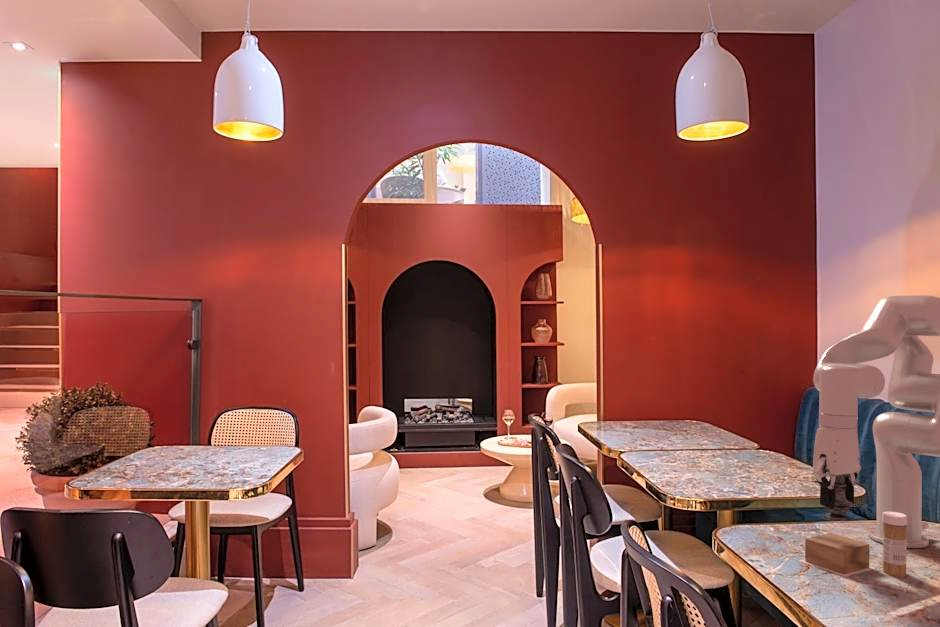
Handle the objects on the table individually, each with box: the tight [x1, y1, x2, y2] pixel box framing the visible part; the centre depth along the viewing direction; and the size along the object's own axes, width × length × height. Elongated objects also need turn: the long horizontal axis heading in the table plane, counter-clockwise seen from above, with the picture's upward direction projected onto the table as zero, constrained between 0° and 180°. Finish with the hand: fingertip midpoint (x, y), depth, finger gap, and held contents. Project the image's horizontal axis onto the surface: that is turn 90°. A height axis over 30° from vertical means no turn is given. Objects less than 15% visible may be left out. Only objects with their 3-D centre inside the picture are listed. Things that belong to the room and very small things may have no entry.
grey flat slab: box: [798, 558, 877, 578], centre depth 155 cm, size 16×12×1 cm
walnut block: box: [804, 532, 870, 574], centre depth 155 cm, size 9×9×5 cm
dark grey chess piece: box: [823, 475, 853, 522], centre depth 155 cm, size 6×6×12 cm
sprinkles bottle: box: [882, 512, 908, 578], centre depth 150 cm, size 5×5×14 cm
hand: (837, 503), depth 155 cm, fingers closed on dark grey chess piece, 5 cm apart
